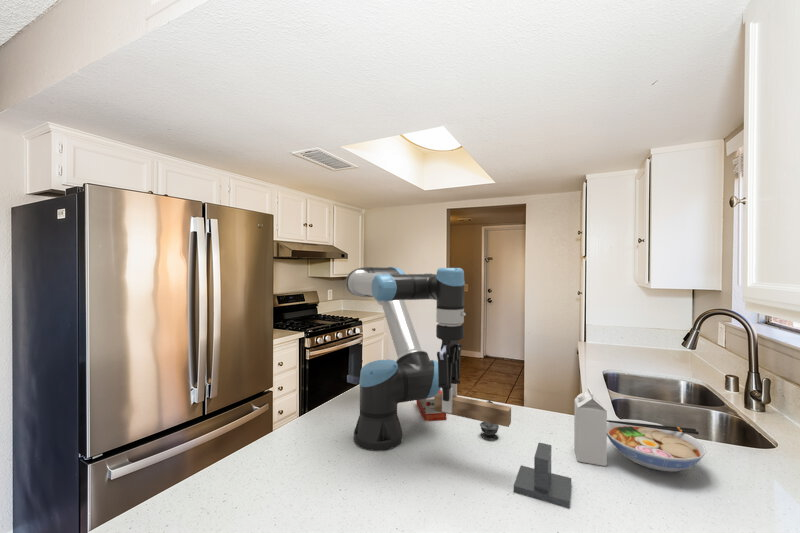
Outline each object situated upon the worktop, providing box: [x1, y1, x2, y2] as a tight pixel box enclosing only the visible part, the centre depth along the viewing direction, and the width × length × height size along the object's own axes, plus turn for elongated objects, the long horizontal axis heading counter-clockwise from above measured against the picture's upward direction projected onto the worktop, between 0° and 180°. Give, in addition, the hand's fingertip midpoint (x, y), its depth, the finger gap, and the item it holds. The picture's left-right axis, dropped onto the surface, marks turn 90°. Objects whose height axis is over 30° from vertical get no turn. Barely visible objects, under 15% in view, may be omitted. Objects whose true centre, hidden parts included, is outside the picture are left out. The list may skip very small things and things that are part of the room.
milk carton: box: [573, 386, 608, 467], centre depth 101 cm, size 7×7×19 cm
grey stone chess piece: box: [479, 398, 500, 442], centre depth 113 cm, size 6×6×12 cm
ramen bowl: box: [607, 418, 707, 472], centre depth 98 cm, size 25×23×8 cm
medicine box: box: [415, 389, 447, 422], centre depth 132 cm, size 15×8×8 cm, turn 9°
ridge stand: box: [513, 442, 572, 509], centre depth 87 cm, size 12×10×9 cm
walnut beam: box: [434, 393, 512, 428], centre depth 95 cm, size 20×3×4 cm, turn 62°
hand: (449, 409), depth 98 cm, fingers closed on walnut beam, 3 cm apart
